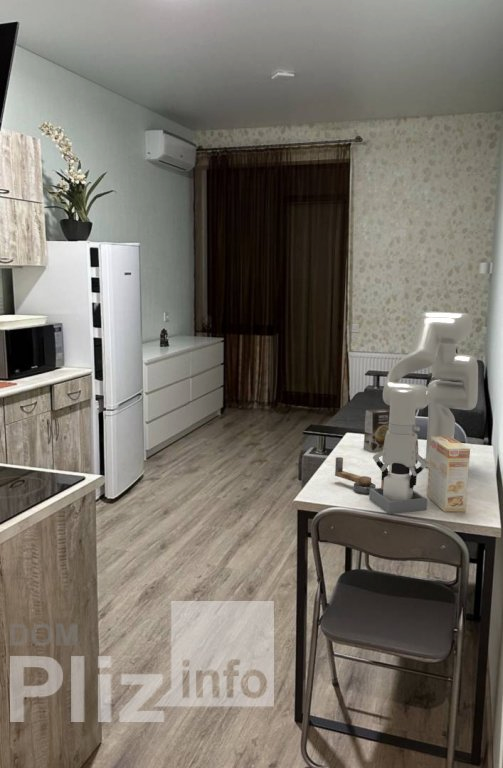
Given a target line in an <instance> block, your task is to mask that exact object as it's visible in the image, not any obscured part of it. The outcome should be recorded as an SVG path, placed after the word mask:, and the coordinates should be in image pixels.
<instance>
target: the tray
mask: <svg viewBox="0 0 503 768" xmlns="http://www.w3.org/2000/svg"><path fill="white" fill-rule="evenodd" d="M368 495H369V496H368V500H369V501H370V502H372V503H373V504H375V505H376V506H377V507H378V508H381V509H382V511H384V512H386V513H387V514H389V515H390V514H398V513H409V512H417V511H427V508H428V507H427V505H428V498H427V497H425V495H424V496H423V495H422V494H420V493H419V492H418V491H415V490H414V489H413V498H411V499H409V500H398V501H390V500H388V499H387V498H385V497H384V496H383V488H381V487H376V488H372V489H370V491H369V494H368Z"/></svg>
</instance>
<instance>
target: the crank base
mask: <svg viewBox="0 0 503 768" xmlns="http://www.w3.org/2000/svg"><path fill="white" fill-rule="evenodd" d="M372 488H377V486H376V484H375V483H374V482H371V485H370V486H361V485H359V483H357V482H354V483H353V492H354V493H356V494H359V495H366V496H367V495H369V491H370V489H372Z"/></svg>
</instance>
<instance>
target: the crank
mask: <svg viewBox="0 0 503 768" xmlns="http://www.w3.org/2000/svg"><path fill="white" fill-rule="evenodd" d="M343 466H344V457H340V456H336V457H335V468H334V469H335V473H334V475H335V477H337V478H342V479H344V480H347V481H351V482H354V483H356V482H357V483H359V485H361V486H370V485H371V483H372V477H371V476H364V475H363V476H362V475H357V474H354V473H351V472H348V471H344V470H343Z"/></svg>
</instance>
